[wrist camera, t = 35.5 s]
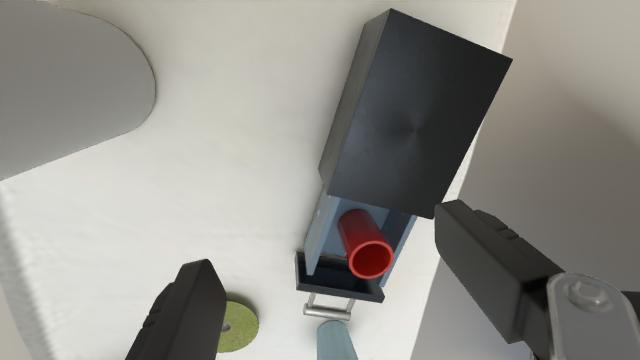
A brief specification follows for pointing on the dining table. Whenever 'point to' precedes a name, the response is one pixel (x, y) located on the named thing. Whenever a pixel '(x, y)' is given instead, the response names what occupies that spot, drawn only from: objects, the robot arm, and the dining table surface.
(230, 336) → the mat
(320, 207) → the dish drawer
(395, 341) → the dining table surface
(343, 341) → the cup
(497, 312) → the robot arm
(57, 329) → the dining table surface
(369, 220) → the red tumbler
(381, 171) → the black drawer casing
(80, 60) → the cylinder vase
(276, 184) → the dining table surface
